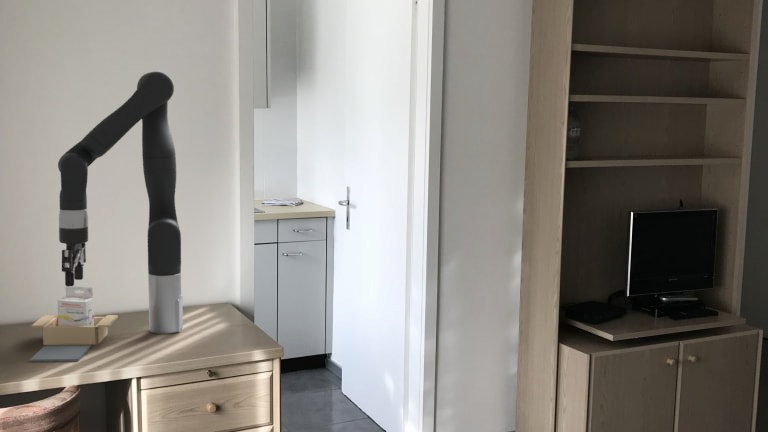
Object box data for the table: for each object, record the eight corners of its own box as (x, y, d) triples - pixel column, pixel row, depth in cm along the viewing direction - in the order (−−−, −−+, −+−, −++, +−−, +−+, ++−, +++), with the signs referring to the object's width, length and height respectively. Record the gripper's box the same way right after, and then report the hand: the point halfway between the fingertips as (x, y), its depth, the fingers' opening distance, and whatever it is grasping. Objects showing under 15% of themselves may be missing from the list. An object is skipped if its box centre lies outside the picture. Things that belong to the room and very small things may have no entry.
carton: (118, 333, 228) (118, 315, 228) (109, 344, 218) (108, 325, 217) (44, 333, 226) (44, 315, 226) (32, 344, 216) (31, 325, 215)
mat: (90, 347, 215) (90, 345, 215) (78, 361, 203) (78, 359, 203) (45, 347, 214) (45, 345, 214) (29, 361, 202) (29, 359, 202)
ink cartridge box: (57, 341, 220) (55, 289, 218) (66, 336, 225) (64, 285, 223) (86, 342, 219) (85, 290, 217) (95, 337, 224) (93, 286, 222)
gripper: (80, 229, 211) (80, 288, 213) (94, 222, 225) (95, 277, 227) (51, 228, 211) (52, 288, 213) (67, 221, 225) (68, 277, 227)
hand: (74, 282), depth 220 cm, fingers open, 8 cm apart
